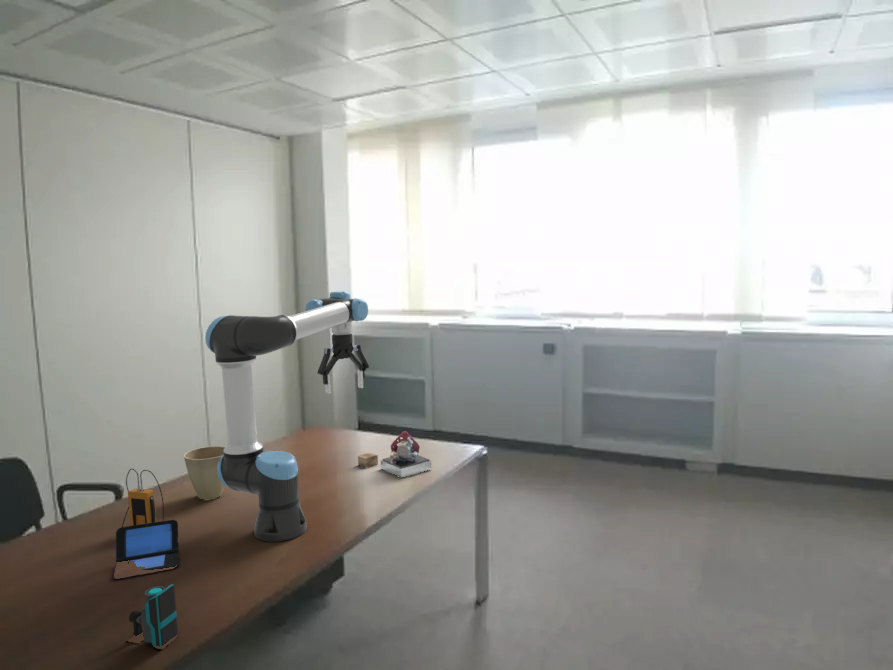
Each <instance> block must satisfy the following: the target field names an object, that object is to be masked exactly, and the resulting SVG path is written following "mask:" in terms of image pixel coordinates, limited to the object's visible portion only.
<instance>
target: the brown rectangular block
mask: <svg viewBox="0 0 893 670" xmlns="http://www.w3.org/2000/svg"><path fill="white" fill-rule="evenodd" d="M378 457H379V456H378V454H375V453H373V452H367V453H364V454H360V455H357V464H358V466H359V465H360V466H359V467H361V466H363V467H362V468H364V467H365V468H364V469H367V468H366V467H368V468H370V467H369V466H371V467H373V466H372V465H375V466H377V465H376V464H378V465H379V458H378Z"/></svg>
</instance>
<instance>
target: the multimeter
mask: <svg viewBox="0 0 893 670" xmlns="http://www.w3.org/2000/svg"><path fill="white" fill-rule="evenodd" d="M132 470H133V471H134V472H135V473H136V475H137V488H136V487H135V488H133V489H131V490H129V487H128V476H129V473H130V472H131V471H132ZM146 471H147V472H149V473H150V474H151V475H152V476H153V477H154V479H155V481H156V483H157V485H158V487H159V488H158V489H159V492H160V496H161V501H162V503H164V498H163V493H162V490H161V487H160V483H159V482H158V480H157V477H156V476H155V474H154V473H153V472H152V471H150V470H148V469H143V470H142V471H141V472H140V475H139V473H138V472H137V470H136V469H135V468H130V469H129V470H128V472H127V473H126V477H125V486H126V489H127V500H128V507H127V510H126V512H125V516H124V518H123V522H122V524H121V527H124V525H125V524H124V523H125V520H126V517H127V514H128V512H129V520H130V526H134V525H140V524H147V523H154V522H157V517H156V514H157V513H156V504H155V503H156V502H155V492H154V490H153V489H145V488H144V486H143V482H142V481H143V480H142V474H143V473H144V472H146ZM139 476H140V477H139ZM139 478H140V480H139ZM164 510H165V509H164V505H162V521H165V520H164V519H165V518H164Z"/></svg>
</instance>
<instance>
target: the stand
mask: <svg viewBox="0 0 893 670" xmlns="http://www.w3.org/2000/svg"><path fill="white" fill-rule="evenodd" d="M391 460H392V458H391V457H390V456H389V457H385V458H382V459H381V460H380V469H381V470H382V469H383V471H384V470H385V471H384V472H387V471H388V472H387V473H389V472H390V473H389V474H391V473H392V474H391V475H393V474H395V475H397V476H396V477H398V476H399V477H398V478H400V477H401V478H400V479H403V478H402V477H404V478H407V477H410V475H411V476H414V475H418V474H421V473H425V472H427V470H428V471H431V469H432V467H433V465H432V460H430V459H429V458H426V457H425V456H424V457H423V456H421V455H419V454H418V455H417V457H416V458H415V460H414V461H400V462H397V461H394V462H393V463H391ZM424 471H425V472H424ZM420 472H421V473H420ZM395 475H394V476H395ZM406 476H407V477H406Z"/></svg>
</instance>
